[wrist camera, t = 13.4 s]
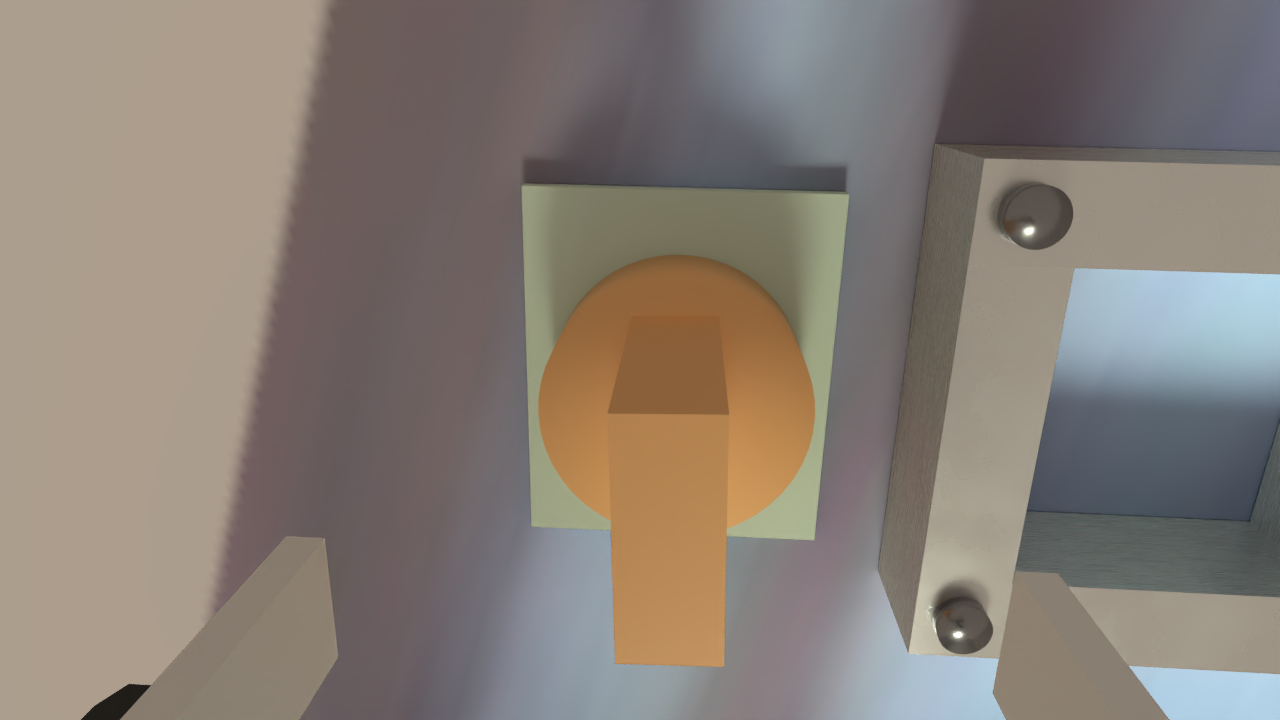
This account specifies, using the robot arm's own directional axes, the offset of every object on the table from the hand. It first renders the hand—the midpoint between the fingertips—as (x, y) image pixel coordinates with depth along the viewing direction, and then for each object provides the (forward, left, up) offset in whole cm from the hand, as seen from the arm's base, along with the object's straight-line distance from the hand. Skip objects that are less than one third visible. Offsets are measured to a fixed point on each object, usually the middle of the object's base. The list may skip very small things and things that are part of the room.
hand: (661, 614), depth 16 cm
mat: (0, 0, -13) cm, 13 cm away
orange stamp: (0, 0, -12) cm, 12 cm away
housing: (0, -15, -13) cm, 20 cm away
